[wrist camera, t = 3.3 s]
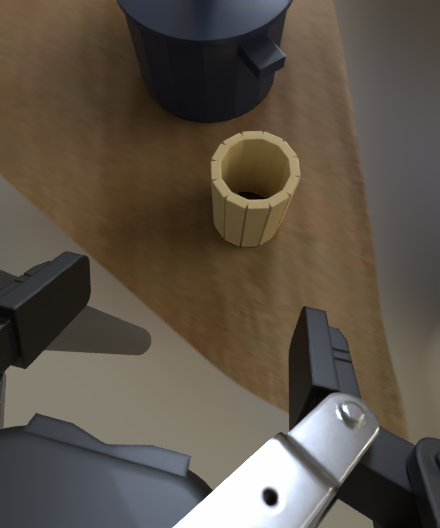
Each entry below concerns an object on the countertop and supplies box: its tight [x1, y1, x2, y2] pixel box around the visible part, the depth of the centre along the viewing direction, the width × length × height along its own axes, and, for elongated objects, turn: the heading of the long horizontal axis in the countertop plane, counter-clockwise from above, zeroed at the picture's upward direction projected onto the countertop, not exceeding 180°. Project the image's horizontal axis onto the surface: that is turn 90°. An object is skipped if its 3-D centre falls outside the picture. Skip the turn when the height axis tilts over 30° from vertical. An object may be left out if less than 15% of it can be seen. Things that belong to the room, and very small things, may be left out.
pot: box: [125, 11, 287, 122], centre depth 30 cm, size 14×19×8 cm
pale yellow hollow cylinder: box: [210, 131, 300, 247], centre depth 26 cm, size 6×6×8 cm
